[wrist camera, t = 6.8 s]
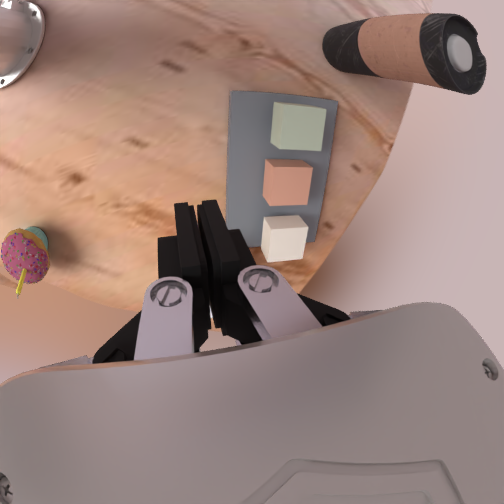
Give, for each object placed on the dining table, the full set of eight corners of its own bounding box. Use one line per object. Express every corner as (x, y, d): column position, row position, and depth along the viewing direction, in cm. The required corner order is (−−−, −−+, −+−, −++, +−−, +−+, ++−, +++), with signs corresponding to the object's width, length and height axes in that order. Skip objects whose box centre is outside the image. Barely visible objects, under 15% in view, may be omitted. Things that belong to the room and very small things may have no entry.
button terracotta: (265, 159, 33) (273, 166, 31) (302, 159, 34) (312, 167, 32) (262, 195, 36) (269, 206, 34) (297, 194, 37) (307, 204, 35)
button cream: (263, 216, 36) (271, 229, 34) (298, 215, 38) (308, 227, 35) (260, 248, 39) (267, 262, 37) (293, 245, 40) (302, 258, 38)
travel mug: (315, 64, 29) (434, 72, 13) (325, 16, 25) (443, -5, 9) (362, 81, 31) (480, 109, 15) (371, 36, 27) (490, 42, 11)
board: (229, 90, 29) (235, 91, 26) (333, 100, 32) (346, 103, 29) (225, 244, 41) (229, 258, 39) (311, 237, 45) (320, 249, 42)
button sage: (273, 101, 28) (283, 104, 25) (313, 105, 29) (326, 109, 26) (270, 142, 31) (279, 149, 28) (308, 144, 32) (320, 151, 29)
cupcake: (60, 223, 32) (29, 276, 23) (57, 268, 36) (35, 324, 26) (14, 210, 29) (-25, 257, 19) (15, 255, 32) (-14, 307, 23)
